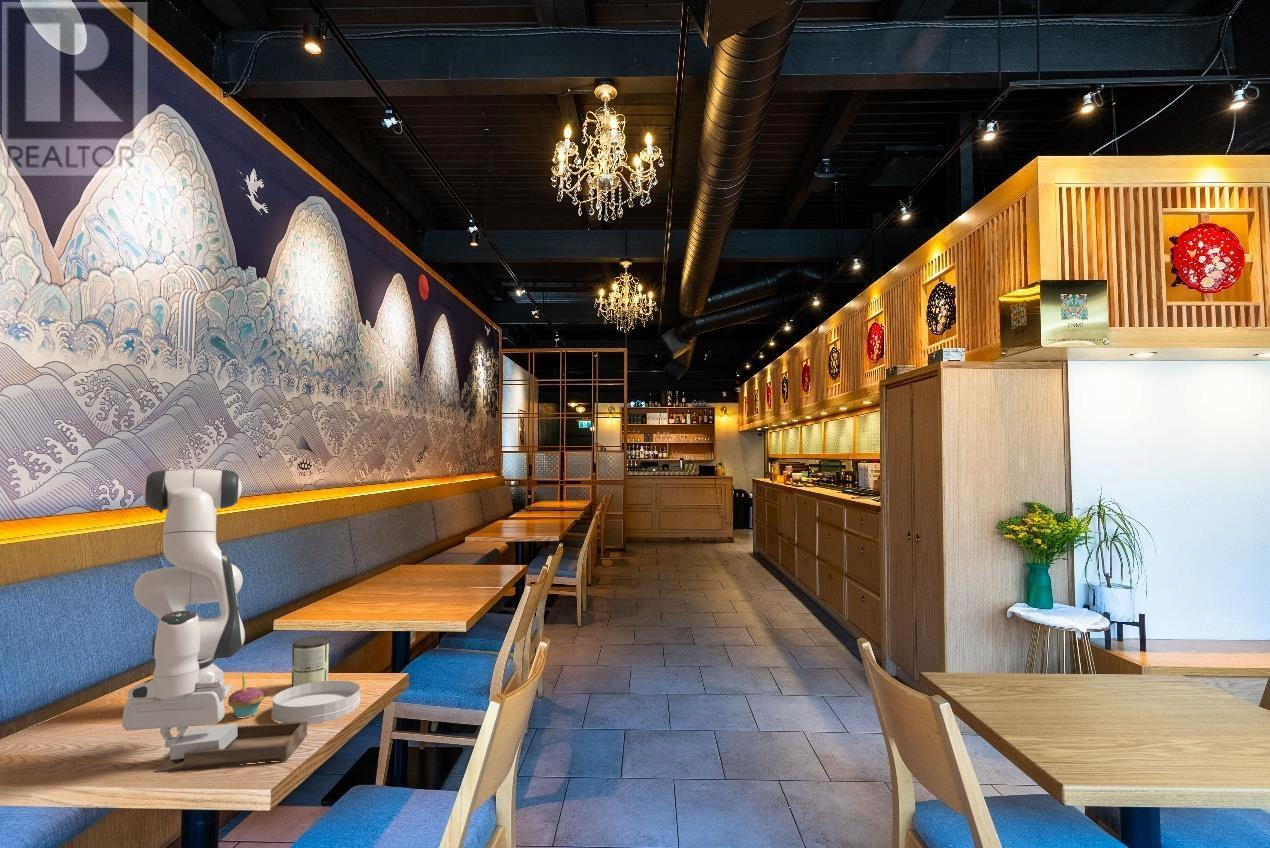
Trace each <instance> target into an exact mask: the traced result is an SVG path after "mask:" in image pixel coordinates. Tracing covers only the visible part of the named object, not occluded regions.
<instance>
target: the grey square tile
mask: <svg viewBox="0 0 1270 848" xmlns="http://www.w3.org/2000/svg"><path fill="white" fill-rule="evenodd" d="M237 726H238V723H230V724H222V725H214V726H213V725H211V726H206V727H205V726H203V727H197V728H191V729H189V731H188V730H187V731H186V732H185V733H184V735H183V736H182V737H181V738H180V739H178V740H177V741H176V742H174V743H173V744H172V745H171V746H170V747H169V759H170V760H172V762H174V763H178V762H179V761H181V760H182V759H183V758H184V753H186V752H190V751H203V750H217V749H227V748H228V747H229V746H230V745H231V744H232V743H233V742H234V741H235V740H236V738H237V736H238V733H237Z"/></svg>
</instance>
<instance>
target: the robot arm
mask: <svg viewBox="0 0 1270 848" xmlns="http://www.w3.org/2000/svg"><path fill="white" fill-rule="evenodd" d="M242 492H243V484H242V481H241V479H240V477H239V474H237V472H236V471H233V470H228V469H222V470H218V469H212V468H210V469H208V468H194V469H193V468H191V469H189V468H188V469H174V470H166V469H161V470H160V469H159V470H155V471H152V472H151V473H149V474H148V475H147V478H146V479H145V481H144V482H143V485H142V489H141V494H142V498H143V500H144V502H145V505H146V506H147V507H148V508H150V509H152V510H155V511H158V513H160V514H163V512H164V510H166V515H165V519H164V526H163V536H162V550H163V551H162V552H163V555H164V557H165V559H166V560H167V561H168V562H169V564H171V565H172V566H170V567H161V568H156V569H152V570H148V571H145V572H143V573H142V574H141V575H139V577H138V578H137V580H136V581H135V584H134V586H133V595H134V599H135V601H136V602H137V603H138V604H139V605H140V606H142V607H143V608H145V609H147V610H148V611H150V612H151V613H152V614H154V615H155V617H156V618H157V619H158V624H157V628H156V632H155V633H154V634H153V636H152V638H151V639H152V642H151V643H152V644H151V656H152V658H153V659H154V660H155V667H154V670H153V673H152V675H153V676H152V678H151V679H150V678H149V679H148V680H144V681H143V682H140V683H138V684H136V685H135V686H133V687H131V688H130V689H128V690H127V697H128V700H127V701H126V703H125V705H124V708H123V711H122V722H121V723H122V727H123V729H124V730H125V731H139V730H152V729H157V730H158V729H159V730H160V731H159V733H160V735H161V737H163V740H164V741H165V743H164V745H165V746H164V747H165V748H170V746H171V745H172V744H173V743H174V742H176V741H177V740H178V739H180V738H181V737H182V736H183V735H185V734H186V733H187V731H188V728H189V727H197V726H198V727H199V726H213V725H214V726H216V725H217V724H219V722H220V721H222V720H223V718H224V717H225V713H226V710H225V709H226V708H225V699H226V698H225V697H228V695H229V693H230V692H231V690H232V689H233V687H232V686H233V685H232V684H227V683H226V684H225V683H224V671H223V670H222V669H221V668H219V667H218V666H217V665H216V664H215V663H214V662H215V661H214V659H229V658H231V657H232V656H234V655H236V653H238V652H239V651H240V650H241V649H242V648H243V646H244V642H245V637H246V633H245V627H244V623H243V621H242V619H241V615H240V608H239V602H238V593H240V590H241V589H242V587H243V582H244V581H243V580H244V579H243V574H242V572H241V569H239V567H237V566H236V565H235V564H234V563H233V564H232V562H231V558H230V556H229V554H228V553H227V552H226V551H222V550H221V549H220V547H219V544H218V542H217V516H218V515H217V509H227V508H231V507H233V506H235V505H237V503H238V500H239V499H240V497H241V495H242ZM209 603H210V604H211V603H219V610H220V614H219V615H218V616H216V617H209V618H204V617H201V616H198V613H197V612H195V611H193V610H192V611H191V610H187V607H188V606H191V605H198V604H199V605H200V604H209ZM231 688H232V689H231ZM230 689H231V690H230ZM229 691H230V692H229ZM227 694H228V695H227ZM224 698H225V699H224ZM172 728H176V732H177V733H178V734H177V736H173V735H172V733H171V730H172Z"/></svg>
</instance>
